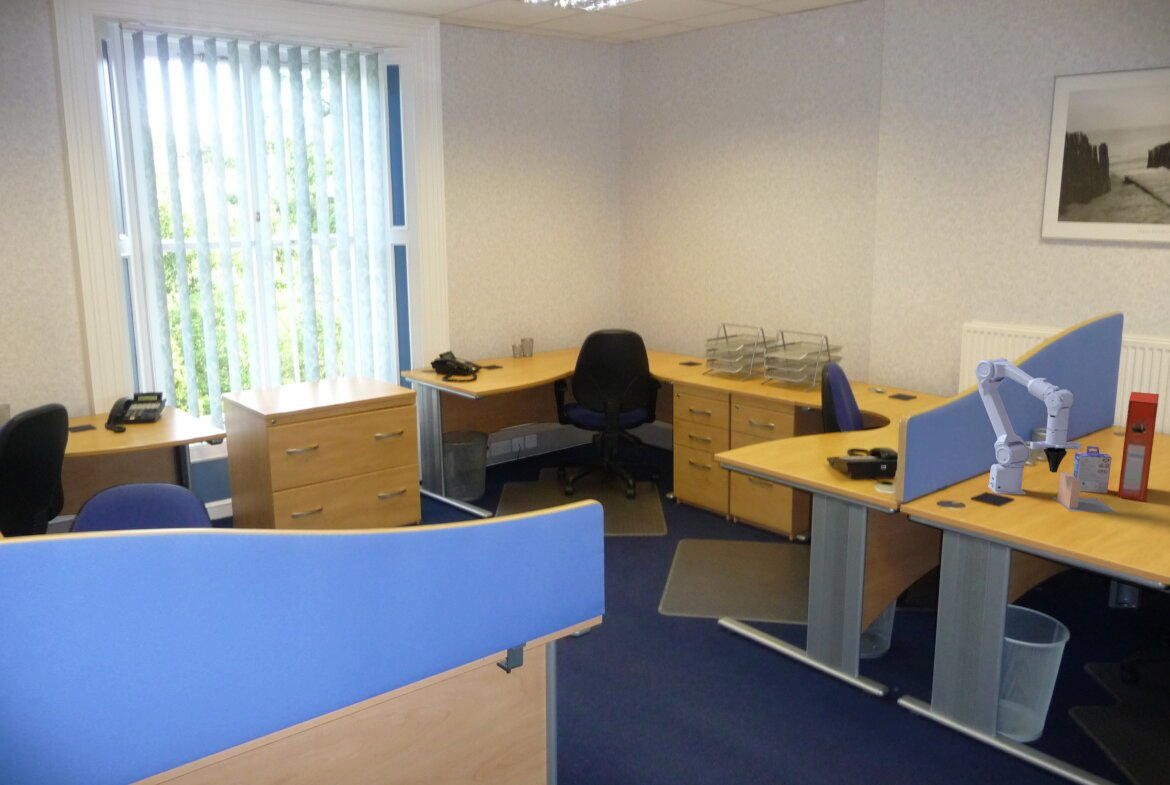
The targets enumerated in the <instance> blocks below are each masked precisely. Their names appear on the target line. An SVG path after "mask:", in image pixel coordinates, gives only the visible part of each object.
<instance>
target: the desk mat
mask: <svg viewBox="0 0 1170 785" xmlns="http://www.w3.org/2000/svg"><path fill="white" fill-rule="evenodd" d="M1051 499H1053V500H1055V501H1056V503H1059V504H1060V505H1061V506H1063V507H1064V509H1066V510H1068V511H1069V512H1079V513H1081V512H1084V513H1108V514H1109V513H1111V514H1112V513H1114V514H1118V511H1116V510H1115V509H1113V508H1112V507H1111V506H1108V504H1106V503H1104V502H1103V501H1102V500H1100V499H1098V498H1093V497H1092V498H1091V497H1079V501H1078V509H1069V508H1068V507H1066V506H1065V505H1064V504H1062V503H1061V502H1060V501H1058V500H1057V496H1051Z"/></svg>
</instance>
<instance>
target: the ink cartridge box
mask: <svg viewBox="0 0 1170 785" xmlns="http://www.w3.org/2000/svg"><path fill="white" fill-rule="evenodd" d="M1091 449H1093V450H1091ZM1073 464H1074V466H1073V474H1072V475H1073V476H1075V477H1076V478H1078V479H1079V480H1081V485H1080V492H1085V493H1087V492H1088V493H1105V494H1107V493H1108V491H1109V484H1110V483H1109V481H1110V470H1111V467H1112V456H1110V455H1109V454H1108V453H1100V448H1099V446H1091V445H1090V446H1089V445H1086V452H1075V453H1074V462H1073Z"/></svg>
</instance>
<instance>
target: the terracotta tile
mask: <svg viewBox="0 0 1170 785" xmlns="http://www.w3.org/2000/svg"><path fill="white" fill-rule="evenodd" d="M1080 485H1081V480H1079V479H1078V478H1076V477H1075V476H1073V474H1072V473H1070V472H1069V471H1068V472H1067V471H1065V472H1063V471H1060V472H1059V480H1058V488H1057V489H1058V490H1057V496H1056V497H1057V500H1058V501H1060V502H1061V503H1062V504H1064V505H1065V506H1066V507H1068V508H1069V509H1078V501H1079V498H1080V493H1081V491H1080Z"/></svg>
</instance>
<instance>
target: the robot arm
mask: <svg viewBox="0 0 1170 785" xmlns="http://www.w3.org/2000/svg"><path fill="white" fill-rule="evenodd" d="M974 374H975V376H976V378H977V390H978V392H979V395H980V398H981V400H982V403H983V405H984V408H985V410H986V413H987V415H988V418H989V421H990V423H991V426H992V428H993V430H994V433H995V436H996V438H997V440H996V441H995V443H994V445H993V446H994V449H995V458H996V461H997V462H998V463H994V464H992V465H991V467H990V470H989V471H990V472H989V482H988V485H987V487H988V488H989V490H991V491H993V492H994V493H995V494H998V495H999V494H1005V495H1006V494H1007V495H1027V493H1026V492H1025V491H1024V489H1022V488H1023V478H1024V470H1025V469H1024V468H1025V465H1026V462H1027V461H1028V460H1029V459H1030V457H1031V450H1036V449H1037V450H1040V449H1041V450H1043V451H1044V454H1045V455H1046V456H1045V457H1046V459H1047V462H1048V463H1047V464H1048V467H1049V472H1051V473H1057V472H1058V469H1059V467H1060V465H1061V462H1062V461H1063V459H1064V458H1065V457H1066V456H1067V453H1068V450H1077V451H1078V450H1079V451H1081V450H1082V443H1081V442H1074V441H1067V438H1068V426H1069V419H1070V418H1069V417H1070V416H1069V415H1070V408H1071V407H1072V406H1073V405H1074V403H1075V397H1074V395H1073V393H1072V392H1071V391H1070V390H1069V389H1066V388H1065V389H1060V387H1059V386H1057V385H1053V383H1050V382H1048V381H1047V380H1048V379H1047V378H1045V377H1036V378H1034V377H1033V376H1031V375H1029V374H1028V373H1026V372H1025V371H1023V370H1022V369H1021V368H1020V367H1018V366H1016V365H1015V364H1014V363H1013V362H1012V361H1010V360H1008V359H1007V358H1004V357H1000V358H994V359H993V358H992V359H982V360H980V361H978V363H977V364H976V367H975V369H974ZM1006 378H1007V379H1010V380H1013V381H1014V382H1016V383H1018V384H1020V385H1022V386H1024V387H1026V388H1027V391H1028V393H1029V394H1030V395H1032V396H1034V397H1036V398H1037V399H1039V400H1040V401H1042V402H1044V404H1045V406H1046V408H1047V412H1046V413H1047V421H1046V433H1045V440H1042V441H1030V443H1029V444H1030V445H1029V446H1028V445H1027V444H1026V442H1024V440H1023V438H1022V437H1021V436H1019V435H1018V434H1017V433H1015V430H1014V428H1013V426H1012V423H1011V420H1010V417H1009V415H1008V412H1007V411H1006V408H1005V404H1004V403H1003V400H1002V398H1001V396H1000V393H999V390H998V389H999V386H1000V385H1001V384H1002V383H1003V381H1004V380H1005V379H1006ZM1030 449H1031V450H1030Z"/></svg>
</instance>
